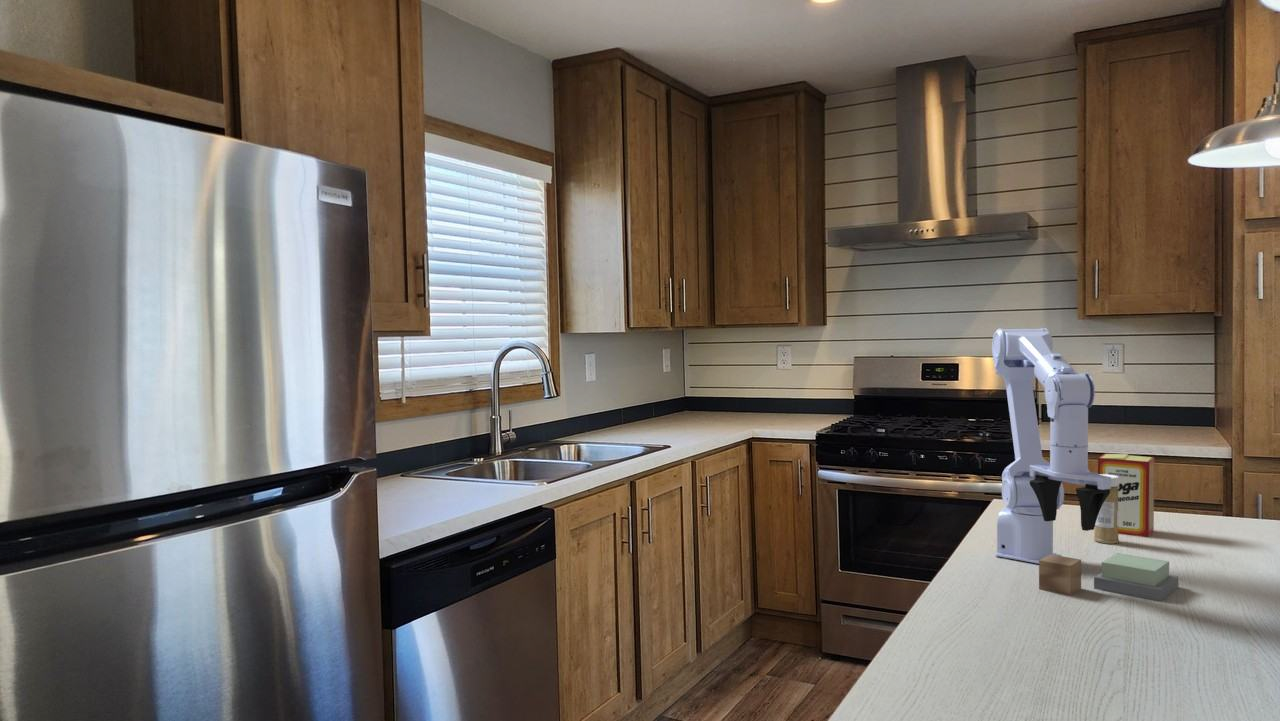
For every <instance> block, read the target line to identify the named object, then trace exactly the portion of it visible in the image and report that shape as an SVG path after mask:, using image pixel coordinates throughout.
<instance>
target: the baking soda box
mask: <svg viewBox="0 0 1280 721" xmlns="http://www.w3.org/2000/svg"><path fill="white" fill-rule="evenodd" d="M1097 474H1108V475H1115V476H1118V477H1119V486H1118V487H1119V488H1118V512H1119V526H1118V535H1119V534H1120V535H1127V536H1133V537H1134V536H1135V537H1143V538H1149V537H1150V536H1151V535H1152V534H1153V532H1154V526H1155V525H1154V524H1155V523H1154V520H1155V518H1154V517H1155V513H1154V511H1155V495H1154V494H1155V457H1153V456H1152V457H1151V456H1141V455H1129V454H1128V453H1104V454H1103V453H1102V455H1100V456H1099V457H1098V458H1097Z"/></svg>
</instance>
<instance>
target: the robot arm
mask: <svg viewBox="0 0 1280 721" xmlns="http://www.w3.org/2000/svg"><path fill="white" fill-rule="evenodd" d="M991 342H992V345H991V352H992V359H993V360H992V361H993V367H994V369H995V370H994V371H995V374H997V375H998V376H1000V377H1001V378H1003V380H1004V385H1005V386H1004V387H1005V389H1006V396H1007V397H1006V398H1007V404H1008V412H1009V419H1010V429H1011V435H1012V443H1013V451H1014V459H1015V460H1014V461H1013V462H1011V463H1010V464H1008V465H1007V466H1006V467H1004V469H1003V471H1002V474H1001V480H1002V484H1001V498H1002V502H1003V504H1004V506H1005V507H1003V508H1002V509H1001V510H1000V511H999V513H998V516H997V520H996V552H995V554H994V556H995V557H1001V558H1005V559H1011V560H1016V561H1023V562H1029V563H1033V564H1037V565H1039V560H1041V559H1043V558H1045V557H1047V556H1048V555H1050V554H1051V555H1057V556H1062V554H1061V553H1057V552H1054V521H1056V519H1057V514H1058V513H1057V511H1058V510H1060V508H1061V507H1062V506H1063V504H1064V500H1065V489H1064V485H1063V483H1068V484H1073V485H1081V486H1083V487H1078V488H1075V492H1076V495H1077V498H1078V502H1079V507H1080V526H1081V530H1082V531H1095V524H1096V520H1097V517H1098V514H1099V511H1100V509H1101V507H1102V505H1103V503H1104V501H1105V499H1106V498H1107V496H1108V495H1109V494H1110V489H1111V477H1108V476H1103V475H1099V474H1098V473H1097V472H1096V473H1095V472H1092V471H1090V469H1088V468H1089V467H1088V465H1089V464H1088V462H1089V460H1088V459H1089V457H1088V456H1089V453H1088V452H1089V449H1088V448H1089V408H1091V407H1092V406H1093V404H1094V401H1095V395H1096V393H1095V392H1096V391H1095V389H1096V388H1095V384H1094V380H1093V377H1092V376H1091V374H1090V373H1088V372H1082V373H1080V372H1079V373H1078V372H1077V371H1076V370H1075V369H1074V368H1073V366H1072V365H1071V364H1070V363H1069V362H1068V360H1067V359H1066V358H1065V357H1064V356H1063V355H1062V354H1061V353H1054V352H1053V346H1054V345H1053V344H1054V343H1053V336H1052V333H1051V332H1050V331H1049V329H1048V328H1046V327H1041V328H1016V329H1015V328H1014V329H1013V328H1011V329H1010V328H1008V329H1006V328H1004V329H1003V328H997V329H996V331H995V332H994V333H993V336H992V341H991ZM1034 378H1036V379H1037V381H1039V383H1040V384H1041V386H1042V387H1043V389H1044V398H1045V403H1046V408H1047V409H1046V413H1047V417H1048V418H1050V419H1049V420H1050V423H1049V425H1050V429H1049V431H1050V432H1049V434H1050V435H1049V436H1050V438H1049V441H1050V444H1049V445H1050V446H1049V457H1050V458H1049V461H1048V460H1046V459H1045V458H1044V457H1043V451H1042V444H1041V437H1040V430H1039V422H1038V416H1037V409H1036V402H1035V395H1034V394H1035V393H1034V388H1033V386H1034V385H1033V379H1034ZM1062 482H1063V483H1062Z"/></svg>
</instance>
